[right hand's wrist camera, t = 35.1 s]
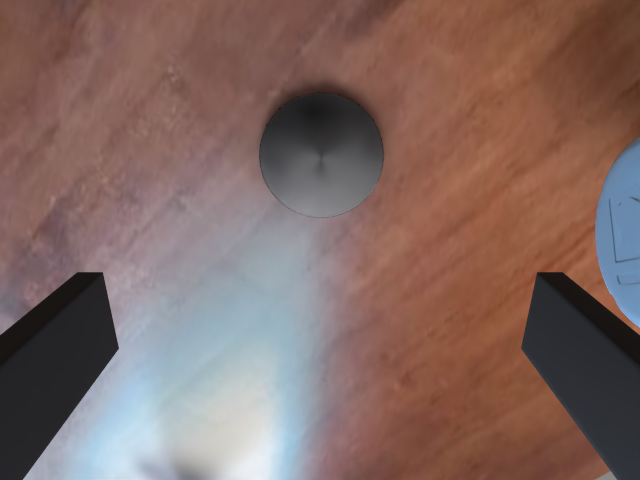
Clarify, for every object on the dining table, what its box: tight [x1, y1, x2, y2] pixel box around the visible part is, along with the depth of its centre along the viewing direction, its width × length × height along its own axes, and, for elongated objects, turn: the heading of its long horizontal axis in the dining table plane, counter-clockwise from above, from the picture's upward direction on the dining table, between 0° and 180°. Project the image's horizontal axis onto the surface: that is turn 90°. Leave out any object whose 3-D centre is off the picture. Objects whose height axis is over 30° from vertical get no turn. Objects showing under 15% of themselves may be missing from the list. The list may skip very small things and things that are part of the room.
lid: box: [259, 92, 384, 218], centre depth 37 cm, size 11×11×2 cm
